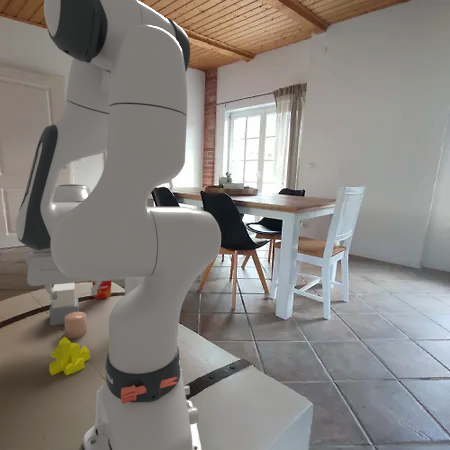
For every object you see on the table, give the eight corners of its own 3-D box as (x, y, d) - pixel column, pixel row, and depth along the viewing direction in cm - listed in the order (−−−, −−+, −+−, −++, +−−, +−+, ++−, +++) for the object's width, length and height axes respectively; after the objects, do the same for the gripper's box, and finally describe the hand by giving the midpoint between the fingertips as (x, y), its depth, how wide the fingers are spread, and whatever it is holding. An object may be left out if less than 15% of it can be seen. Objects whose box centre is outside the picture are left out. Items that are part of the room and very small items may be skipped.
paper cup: (85, 298, 98) (84, 259, 95) (100, 290, 105) (100, 254, 103) (103, 302, 96) (103, 262, 93) (118, 294, 103) (118, 257, 101)
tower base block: (78, 322, 82) (77, 306, 82) (50, 326, 79) (49, 309, 78) (78, 311, 89) (78, 296, 88) (52, 315, 85) (51, 299, 85)
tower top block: (74, 305, 82) (74, 289, 81) (52, 308, 80) (52, 291, 79) (75, 297, 87) (75, 282, 86) (54, 300, 84) (54, 284, 84)
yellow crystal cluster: (94, 363, 65) (93, 332, 64) (56, 381, 59) (54, 347, 58) (82, 352, 69) (82, 323, 67) (46, 368, 63) (44, 336, 61)
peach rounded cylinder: (86, 336, 75) (86, 319, 75) (64, 340, 73) (64, 322, 72) (86, 326, 80) (86, 310, 79) (65, 330, 78) (64, 313, 77)
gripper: (22, 252, 65) (25, 307, 68) (116, 248, 75) (115, 296, 77) (27, 245, 71) (29, 296, 73) (113, 242, 80) (113, 287, 83)
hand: (74, 296), depth 75 cm, fingers open, 8 cm apart
